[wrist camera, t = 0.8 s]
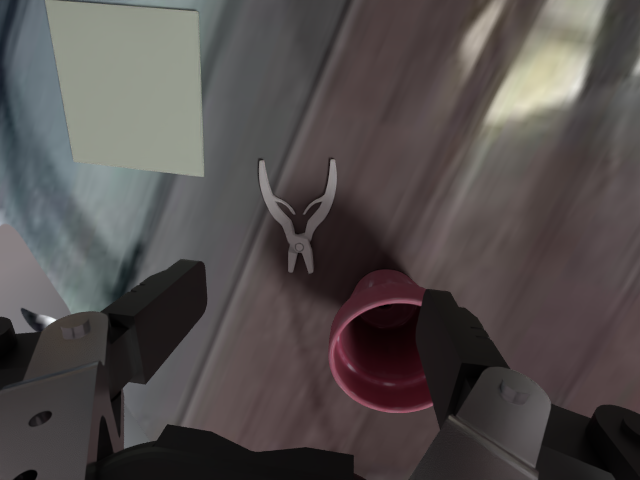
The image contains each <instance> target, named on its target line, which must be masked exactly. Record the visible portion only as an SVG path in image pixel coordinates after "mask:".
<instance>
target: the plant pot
mask: <svg viewBox="0 0 640 480" xmlns="http://www.w3.org/2000/svg"><path fill="white" fill-rule="evenodd" d="M425 290H426V289H425V288H422V287H419V286H418V285H417V284H416V283H415V282H414V281H412V280H411V279H410V278H409V277H408V276H407V275H405V274H403V273H401V272H399V271H396V270H390V269H382V270H376V271H373V272H371V273H369V274H367V275H366V276H364V277H363V278H362V279H361V280H360V281H359V282H358V284H357V285H356V287H355V289H354V291H353V293H352V295H351V297H350V299H349V300H347V301H346V302H345V303H344V304H343V306H342V307H341V308H340V309H339V311H338V312H337V314H336V316H335V318H334V320H333V323H332V326H331V332H330V339H329V350H328V359H329V365H330V369H331V372H332V374H333V377H334V379H335V380H336V382H337V383H338V385H339V386H340V387H341V389H342V390H343V391H344V392H345V393H346V394H347V395H349V396H350V397H351V398H352V399H354V400H355V401H357V402H359V403H360V404H362V405H364V406H367V407H369V408H372V409H375V410H379V411H384V412H390V413H405V412H413V411H418V410H422V409H425V408H428V407H430V406H433V402H432V399H431V395H430V392H429V388H428V385H427V381H426V377H425V374H424V370H423V367H422V363H421V359H420V356H419V352H418V349H417V345H416V326H417V322H418V317H419V313H420V309H421V304H422V300H423V295H424V292H425ZM385 304H390V305H389V306H388V307H385V308H382V307H380V306H381V305H385Z"/></svg>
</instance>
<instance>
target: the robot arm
mask: <svg viewBox="0 0 640 480" xmlns="http://www.w3.org/2000/svg"><path fill="white" fill-rule="evenodd" d="M206 306H207V287H206V272H205V265H204V263H203V262H201V261H193V260H185V259H181V260H179V261H177V262H176V263H175V264H173V265H172V266H171V267H169V268H168V269H167V270H164V271H162V272H159V273H157V274H154V275H152V276H150V277H148V278H147V279H146V280H144V281H143V282H141V283H140V285H137V286H136V287H134V288H133V289H132V290H131V292H127V293H126V294H125V295H123V296H122V297H120V298H119V299H118V300H116V301H115V302H113V303H112V304H111V305H109V306H108V307H106V308H105V309H104V310H102V311H101V312H95V311H89V312H80V313H76V314H72V315H68V316H66V317H63V318H61V319H58V320H56V321H55V322H53V323H51V324H50V325H48V326H47V327H46V328H45V329H44V330H43V331H42V332H35V333H21V334H15V331H14V328H13V325H12V322H11V320H10V319H8V318H5V317H0V480H366V479H364V478H363V477H361V476H359V475H357V474H354V455H350V454H344V453H337V452H331V451H325V450H319V449H313V448H307V447H304V448H294V449H284V450H273V451H263V452H254V451H250V450H248V449H246V448H244V447H242V446H240V445H238V444H236V443H234V442H232V441H230V440H228V439H226V438H223V437H221V436H219V435H217V434H215V433H213V432H211V431H205V430H199V429H193V428H187V427H181V426H175V425H169V424H167V426H166V427H165V429H164V430H163V432H162V433H161V435H160V436H159V438H158V440H157V441H152V442H147V443H143V444H139V445H135V446H132V447H129V448H126V449H124V393H123V387H124V386H125V385H126V384H127V383H128V382H133V383H139V384H146V383H147V382H148V381H149V380H150V378H151V377H152V376H153V375H154V374H155V372H156V371H157V370H158V369H159V368H160V366H161V365H162V364H163V363H164V362H165V360H166V359H167V358H168V357H169V355H170V354H171V353H172V352H173V351H174V349H175V348H176V347H177V346H178V345H179V343H180V342H181V341H182V340H183V338H184V337H185V336H186V335H187V334H188V332H189V331H190V330H191V329H192V328H193V326H194V325H195V324H196V323H197V322H198V320H199V319H200V318H201V317H202V315H203V314H204V312H205V309H206ZM416 345H417V349H418V352H419V356H420V359H421V363H422V367H423V370H424V374H425V377H426V381H427V385H428V388H429V392H430V395H431V399H432V402H433V406H434V410H435V413H436V417H437V420H438V424H439V428H440V431H439V433H438V434H437V436H436V437H435V439H434V440H433V442H432V444H431V445H430V447H429V448H428V450H427V451H426V453H425V455H424V456H423V458H422V459H421V461H420V462H419V464H418V466H417V467H416V469H415V470H414V472H413V473H412V475H411V476H410V478H409V480H640V414H638V413H636V412H633V411H631V410H629V409H626V408H623V407H619V406H615V405H601V406H599V407H597V409H596V410H595V412H594V414H593V416H592V417H591V418H588V417H586V416H583V415H580V414H577V413H575V412H572V411H569V410H566V409H564V408H561V407H558V406H556V405H553V404H551V403H550V400H549V398H548V396H547V394H546V393H545V392H544V391H543V389H542V388H541V387H540V386H539V385H538V384H536V383H535V382H534V381H532V380H531V379H529V378H528V377H526V376H525V375H523V374H521V373H519V372H516V371H514V370H511V369H510V368H509V366H508V365H507V363H506V362H505V360H504V359H503V357H502V356H501V354H500V352H499V351H498V349H497V348H496V346H495V345H494V343H493V342H492V340H490V337H489V335H488V334H487V332H486V331H485V330H484V328H483V326H482V324H481V323H480V321H479V320H478V318H477V317H476V316H474V315H473V314H472V313H471V312H470V311H468V310H467V309H466V308H462V307H458V305H457V303H456V301H455V300H454V298H453V296H452V294H451V293H450V292H448V291H440V290H432V289H426V290H425V292H424V295H423V300H422V304H421V309H420V313H419V317H418V322H417V326H416Z"/></svg>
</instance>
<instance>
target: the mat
mask: <svg viewBox="0 0 640 480" xmlns="http://www.w3.org/2000/svg"><path fill="white" fill-rule="evenodd" d="M45 3H46V9H47V15H48V20H49V26H50V31H51V37H52V43H53V48H54V54H55V59H56V65H57V71H58V76H59V82H60V88H61V93H62V99H63V104H64V110H65V116H66V121H67V127H68V132H69V138H70V144H71V149H72V155H73V160H74V162H81V163H89V164H98V165H106V166H115V167H123V168H132V169H140V170H149V171H157V172H166V173H174V174H183V175H191V176H200V177H204V153H203V124H202V95H201V66H200V36H199V13H198V12H197V11H185V10H172V9H160V8H147V7H134V6H121V5H108V4H95V3H82V2H70V1H57V0H45Z"/></svg>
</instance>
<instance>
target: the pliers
mask: <svg viewBox="0 0 640 480" xmlns="http://www.w3.org/2000/svg"><path fill="white" fill-rule="evenodd" d="M259 180H260V186H261V191H262V194H263V198H264V200H265V203H266V205H267V207H268V209H269V211H270V213H271V214H272V216H273V217H274V218H275V220H277V221H278V222H279V223H280V224H281V225H282V227H283V229H284V232H285V234H286V237H287V240H288V243H290V247H289V251H288V272H291V273H293V271H294V267H295V263H296V259H297V255H298V253H302V254H303V257H304V260H305V264H306V267H307V270H308V273H313V271H314V262H313V252H312V248H311V245H310V241H311V239H312V235H313V232H314V231H315V229H316V227H317V226H318V225H319V224H320V223H321V222H322V221H323V220H324V219H325V217H326V216H327V214H328V212H329V210H330V208H331V206H332V202H333V199H334V196H335V191H336V184H337V172H336V164H335V159H331V162H330V172H329V179H328V185H327V189H326V192H325V195H323V196H322V197H320V198H318V199H316V200H314V201H313V202H312V203H310V204H309V206H308V207H307V208H306V210H305V211H304V213H303V214H304V215H305V214H306V212H307V210H308V209H309V208H310V207H311V206H312V205H314V204H315V203H317V202H322V203H321V205H320V207H319V208H318V210H317V211H316V212H315V213H314V214H313V216H312V217H311V218H310V219H309V220H308V222H307V227H306V231H305V233H302V234H299V235H297V234H295V231H294V226H293V223H292V220H291V219H290V218H289V217H288V216H287V215H286V214H285V213H284V212H283V211H282V210H281V208H280V207H279V206H278V204H277V202H280V203H282V204H284V205H286V206H287V207H288V208H289V209H290V211H291V212H292V213H293V215H294V214H296V213H295V212H294V210H293V209H292V207H291V206H290V205H289V204H288V203H287V202H285V201H284V200H282V199H280V198H278V197H276V196H274V195H273V194H272V191H271V188H270V185H269V182H268V177H267V173H266V168H265V162H264V160H260V163H259Z"/></svg>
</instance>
